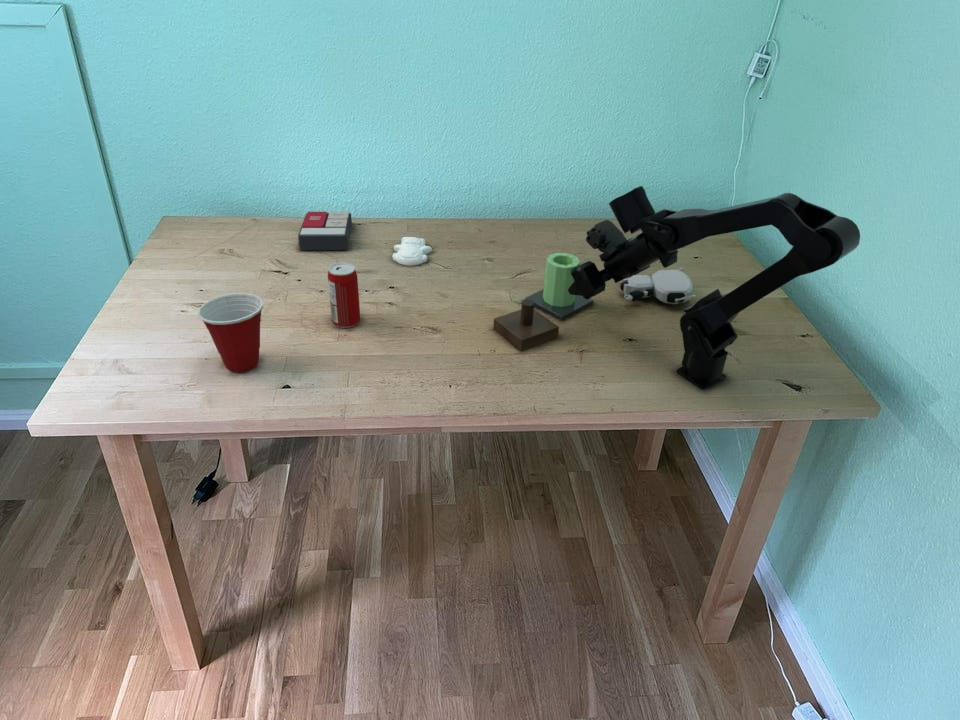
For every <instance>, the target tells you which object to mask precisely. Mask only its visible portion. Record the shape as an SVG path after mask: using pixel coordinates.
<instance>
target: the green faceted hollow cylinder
mask: <svg viewBox="0 0 960 720" xmlns="http://www.w3.org/2000/svg"><path fill="white" fill-rule="evenodd" d="M545 261H546V263H545V272H544V282H543V289H544V291H543V298H544V301H545V302H546V303H548V304H550V305H552V306H558V307H565V306H570V305H572V304H573V302H574V301H575V297H576V295H570V294H569V292H568V289H569V287H570V286H571V285H572V284H573V282H574V279H573V277H572V275H571V270H572V269H574V268H575V267H577V266H579V265H581V261H580V259H579V257H578V256H576V255H574V254H571V253H566V252H556V253H551V254H549V255H548V256H547V257H546V260H545Z"/></svg>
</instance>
